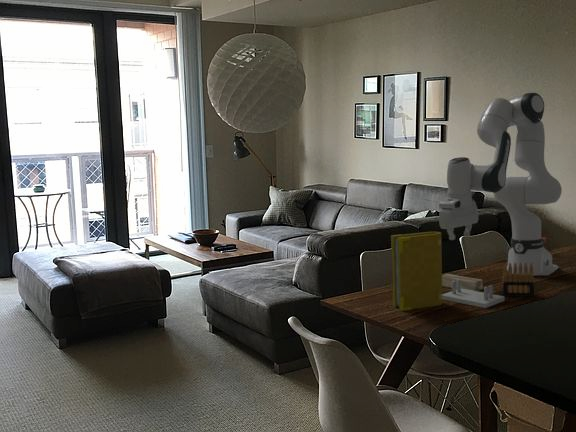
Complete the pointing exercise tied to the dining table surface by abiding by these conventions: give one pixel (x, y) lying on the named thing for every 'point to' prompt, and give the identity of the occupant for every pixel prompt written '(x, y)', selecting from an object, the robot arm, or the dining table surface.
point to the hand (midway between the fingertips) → (459, 237)
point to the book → (417, 270)
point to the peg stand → (472, 296)
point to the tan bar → (462, 282)
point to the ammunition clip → (518, 281)
